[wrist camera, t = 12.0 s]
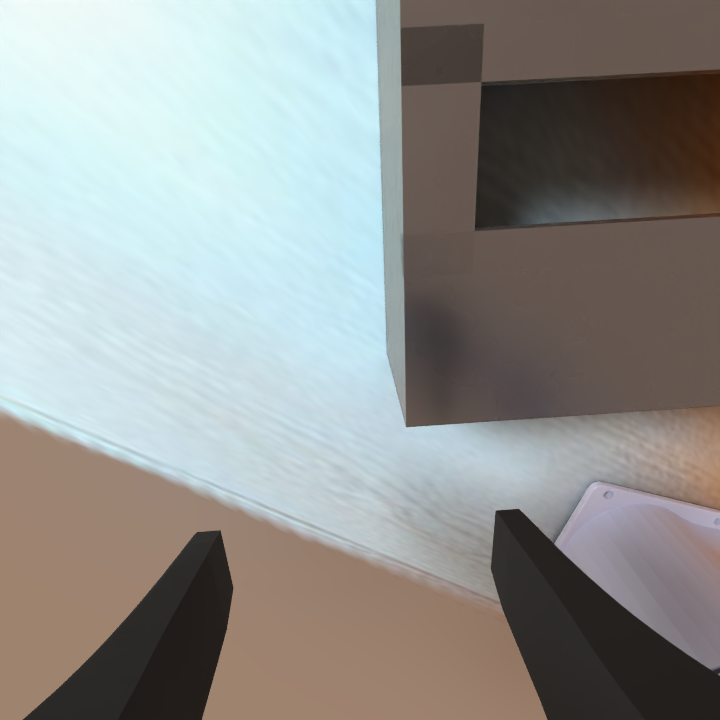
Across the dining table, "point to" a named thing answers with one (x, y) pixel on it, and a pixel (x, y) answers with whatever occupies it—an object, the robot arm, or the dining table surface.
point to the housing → (534, 241)
